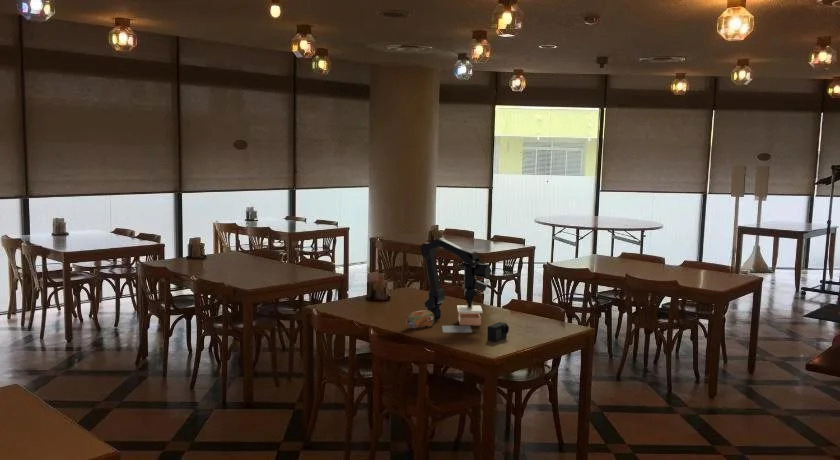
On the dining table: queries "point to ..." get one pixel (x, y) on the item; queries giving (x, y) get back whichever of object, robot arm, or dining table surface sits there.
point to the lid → (469, 309)
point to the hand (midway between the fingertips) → (469, 306)
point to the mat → (457, 329)
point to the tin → (420, 319)
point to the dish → (470, 319)
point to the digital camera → (497, 331)
